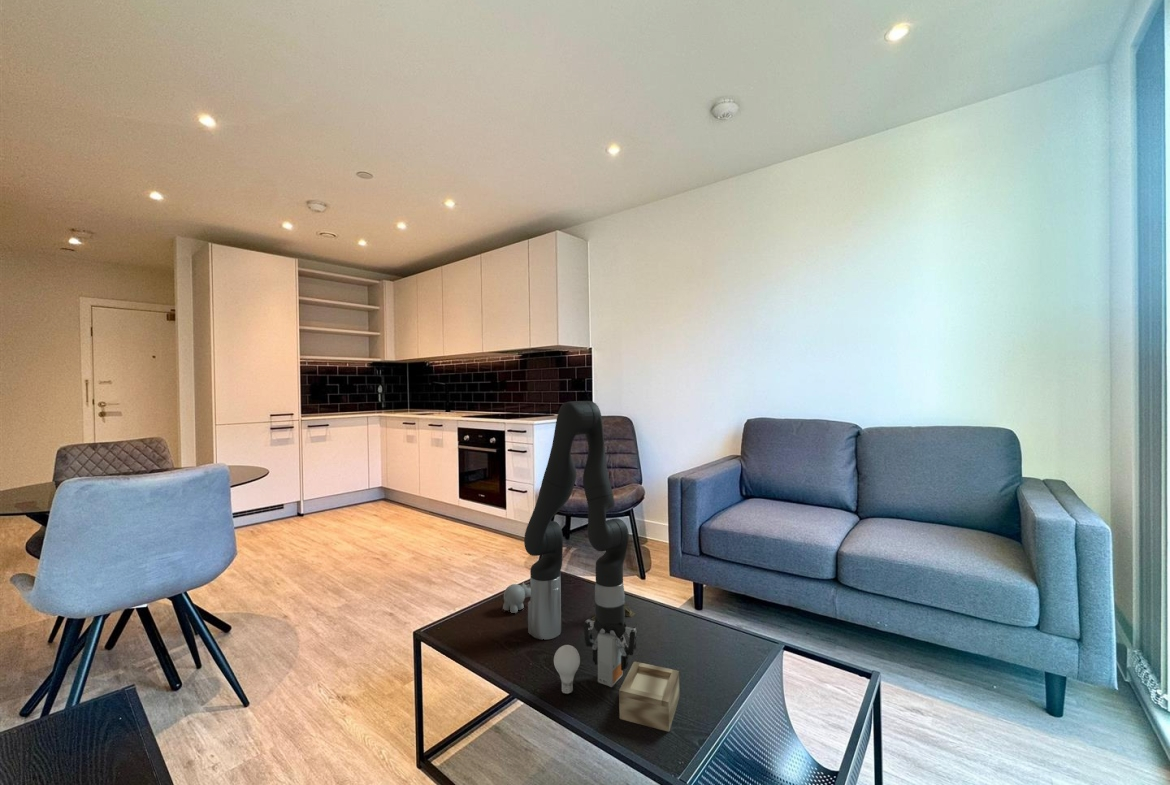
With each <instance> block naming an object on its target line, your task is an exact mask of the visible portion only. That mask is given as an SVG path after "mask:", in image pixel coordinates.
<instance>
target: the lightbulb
mask: <svg viewBox="0 0 1170 785" xmlns="http://www.w3.org/2000/svg"><path fill="white" fill-rule="evenodd" d="M580 663H581V657H580V653H579V651H578V650H577V648H575V646H573V645H570V644H564V645H562V646H560V647H559V648H558V649H556V651H555V653H554V657H553V665H554V668H555V670H556V671H557V673H558V675H559V678H560V681H561V692H562V693H563V694H566V695H569V694H571V693H572V692H573V690H574V688H573V686H574V685H573V684H574V683H573V681H574V679H575V675H576V672H577V671H578V669H579V667H580Z"/></svg>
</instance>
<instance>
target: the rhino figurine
mask: <svg viewBox="0 0 1170 785" xmlns="http://www.w3.org/2000/svg"><path fill="white" fill-rule="evenodd" d="M503 592H504V593H503V600H504V603H503V604H502V610H503V609H504V610H509V609H510V611H509V612H511V613H515V614H517V613H518V612H519V611H518V610H521V609H523V608H524V609H525V607H524V602H525V599H526V598H531V586H530V584H529V583H528V584H525V583H524V581H523V582H522V583H521V585H520V584H518V583H517V584H516V583H515V584H514V583H513V584H510V585H508V586H507V587H506V588H505V590H504V591H503ZM524 609H523V610H524ZM511 613H510V614H511Z"/></svg>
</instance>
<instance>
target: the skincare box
mask: <svg viewBox="0 0 1170 785" xmlns="http://www.w3.org/2000/svg"><path fill="white" fill-rule="evenodd" d="M597 636H598V665H597V682H598V683H599V684H602V685H605V686H608V687H610V688H613V687H614V686H615V684H616V683H617V682H618V681H619V680H620V679H621V677H623V675H624V674H623V673H624V671H622V670H621V655H622V654H621V652H620V650H619V648H617V646H616V643H615V637H614V636H611V634H610V633H604V634H601V633H599V634H598V633H597ZM619 640H620V639H619Z"/></svg>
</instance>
